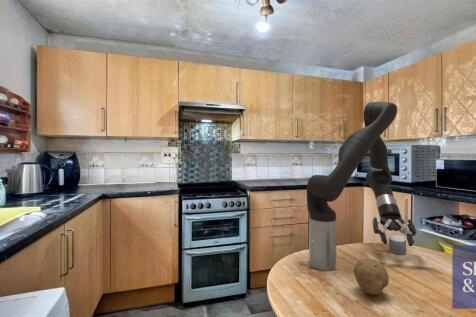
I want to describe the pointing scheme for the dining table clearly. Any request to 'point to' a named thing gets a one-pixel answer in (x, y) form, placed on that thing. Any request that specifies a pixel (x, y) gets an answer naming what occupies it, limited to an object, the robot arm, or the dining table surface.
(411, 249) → the dining table surface
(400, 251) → the grey banded cylinder
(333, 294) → the dining table surface
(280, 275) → the dining table surface
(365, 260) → the natural sponge
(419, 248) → the dining table surface
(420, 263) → the oak board
